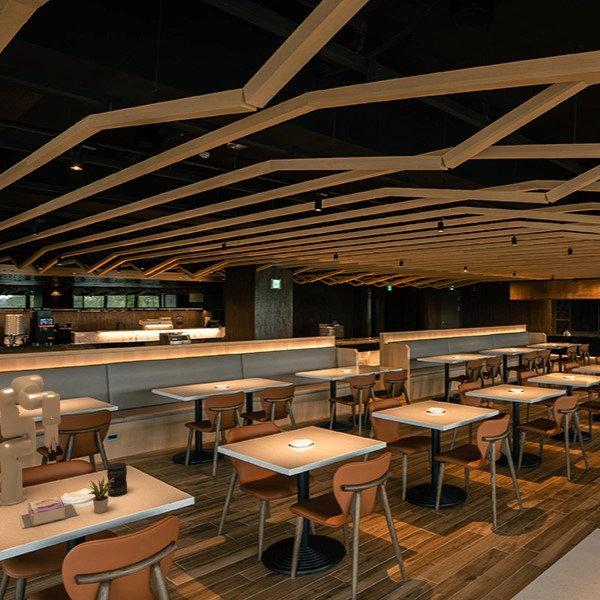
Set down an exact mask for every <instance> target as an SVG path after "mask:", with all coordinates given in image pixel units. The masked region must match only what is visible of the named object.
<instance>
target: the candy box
mask: <svg viewBox="0 0 600 600" xmlns="http://www.w3.org/2000/svg"><path fill="white" fill-rule="evenodd" d="M27 504H28V507H27V508H28V509H27V514H29V517H30V520H31V522H32V525H33V526H34V525H38V524H42V525H44V524H43V523H46V524H48V523H47V522H51V521H55V520H59V519H63V518H65V505H66V504H65V503H64V502H63V501H62V499H61V498H60V496H55V497H50V498H49V497H48V498H44V499H39V500H36V501H30V502H28V503H27ZM63 520H64V519H63ZM59 521H60V520H59ZM55 522H56V521H55ZM51 523H52V522H51ZM38 526H39V525H38ZM34 527H35V526H34Z"/></svg>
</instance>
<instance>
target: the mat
mask: <svg viewBox="0 0 600 600" xmlns="http://www.w3.org/2000/svg"><path fill="white" fill-rule="evenodd" d="M64 505H65V518H63V519H59V520H55V521H51V522H47V523H43V524H38V525H34V526H33V525H32V522H31V520H30V517H29V514H28V513H26V514H23V515H22V514H20V515H18V518H19V522H20V525H21V528H22V530H25V529H30V528H33V527H39V526H42V525H46V524H50V523H53V522H58V521H62V520H66V519H71V518H75V517H79V516H80V512H79V511H78V509H77V506H76V505H75V503H74V502H73V503H69V504H64Z"/></svg>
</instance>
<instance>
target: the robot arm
mask: <svg viewBox="0 0 600 600" xmlns="http://www.w3.org/2000/svg"><path fill="white" fill-rule="evenodd" d="M44 385H45V383H44V379H43V377H42V376H41V375H39V374H31V375H22V376H19V377H18V376H17V377H16V378H14V379H13V380H12V381H11V383H10V387H5V388H2V389H0V434H1V436H2V437H3V438H4V439H5V438H6V439H8V440H5V441H3V442H1V443H0V486H1V488H0V490H1V498H0V506H3V507H4V506H5V507H7V506H13V505H18V504H21V503H23V502H24V501H26V500H27V496H26V495H25V494H23V490H24V489H23V467H22V463H21V462H20V461H19V460H18V459H17V458H21V457H24V456H29V455H32V454H34V453H35V451H36V449H37V436H36V435H37V434H36V433H37V429H36V422H35V419H34V418H33V417H32V416H30V415H26V416H20V409H19V407H18V405H16V404H19V406H20V407H21V408H22V409H24V410H26V411H34V410H35V411H36V410H39V409H41V418H42V419H41V421H42V424H41V425H42V426H43V427H44V433H43V434H44V437H43V438H44V440H43V442H44V445H45V447H46V449H48V452H47V454H48V455H47V457H48V459H47V461H48V462H55V461H57V447H58V446H59V425H60V424H61V423H62V422H61V419H62V418H61V396H60V394H59V393H57V392H55V391H53V390H45V391H42V390H43V388H44ZM21 436H24V437H21ZM17 437H18V438H17ZM9 438H10V439H9ZM11 438H12V439H11Z"/></svg>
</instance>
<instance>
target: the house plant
mask: <svg viewBox="0 0 600 600" xmlns="http://www.w3.org/2000/svg"><path fill="white" fill-rule="evenodd" d="M113 479H114V478H113ZM111 480H112V479H111ZM111 480H110V481H109V482H108V481H107V482H106V483H105V477H104V476H103V477H102V480H101V481H100V480H99V478H97V482H98V483H97V484H98V485H97V484H96V483H95V482H93V481H92V480H89V482H90V483H91V484H92V485H88V486H89V487H90V488H91V489H92V490H91V491H90V492H88V493H87V495H94V498H93V499H92V502H93V506H94V508H93V509H94V512H95V514H104V513H106V512H107V511H108V505H109V504H108V503H109V496H108V495H106V493H108V491H112V490H109V489H111V488H109V487H110V485H109V483H110V482H114V481H113V480H112V481H111ZM108 485H109V487H108ZM113 492H114V491H113Z"/></svg>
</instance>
